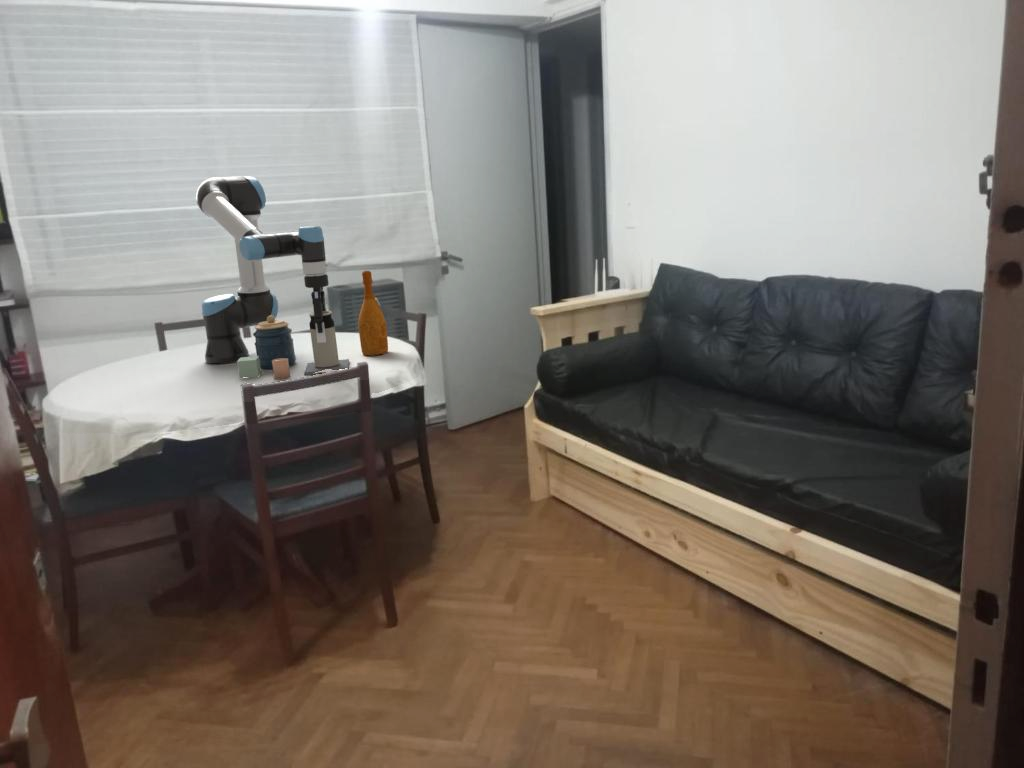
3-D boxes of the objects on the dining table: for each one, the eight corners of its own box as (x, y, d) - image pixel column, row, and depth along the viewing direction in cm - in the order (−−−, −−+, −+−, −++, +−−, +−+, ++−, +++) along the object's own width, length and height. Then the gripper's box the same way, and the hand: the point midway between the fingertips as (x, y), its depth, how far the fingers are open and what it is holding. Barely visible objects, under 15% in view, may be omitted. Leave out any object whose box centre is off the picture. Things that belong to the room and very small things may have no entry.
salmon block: (275, 376, 238) (272, 358, 236) (291, 375, 238) (288, 357, 237) (273, 380, 233) (270, 362, 231) (289, 378, 234) (286, 360, 232)
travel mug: (343, 363, 246) (337, 310, 242) (330, 368, 239) (323, 315, 235) (324, 362, 249) (317, 310, 245) (310, 367, 242) (303, 314, 238)
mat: (308, 365, 250) (307, 362, 250) (349, 361, 252) (349, 359, 252) (304, 375, 237) (304, 372, 236) (348, 371, 239) (347, 368, 239)
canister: (304, 362, 256) (297, 313, 251) (275, 371, 245) (267, 319, 241) (279, 359, 263) (272, 311, 258) (250, 367, 252) (242, 317, 248)
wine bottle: (382, 356, 257) (373, 272, 250) (356, 356, 260) (347, 272, 252) (393, 350, 267) (384, 268, 259) (369, 350, 269) (360, 269, 261)
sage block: (243, 374, 243) (240, 357, 241) (261, 373, 244) (259, 355, 242) (239, 379, 237) (236, 361, 236) (258, 377, 238) (256, 359, 237)
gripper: (325, 278, 225) (332, 344, 231) (329, 269, 249) (336, 330, 254) (300, 280, 224) (308, 346, 230) (307, 270, 247) (314, 331, 253)
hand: (323, 338), depth 242 cm, fingers open, 13 cm apart
